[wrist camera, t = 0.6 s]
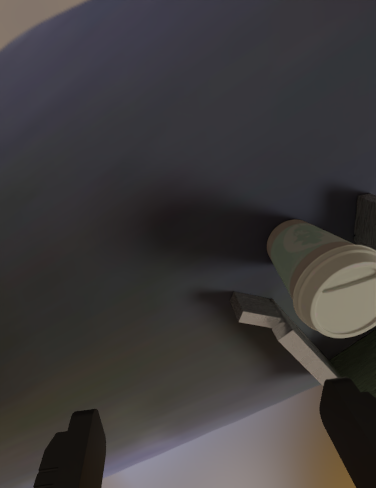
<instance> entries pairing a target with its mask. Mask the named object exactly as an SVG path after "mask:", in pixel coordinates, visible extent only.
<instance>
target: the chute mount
mask: <svg viewBox="0 0 376 488" xmlns="http://www.w3.org/2000/svg"><path fill="white" fill-rule="evenodd" d="M354 235H356V236H355V237H354V238H353V239H354V241H355V242H356V244H357V245H363V246H367V247H370V248H372V249H374V250H375V251H376V195H373V194H371V193H369V194H364V195H359V196H358V197H357V207H356V218H355V229H354ZM230 303H231V306H232V308H233V310H234V313H235V315H236V317H237V320H238V322H241V323H246V324H252V325H258V326H263V327H269V328H271V329H272V331H273V333H274V334H275V336H276V338H277V340H278V341H279V342H280V343H281V344H282V345H283V346H284V347H285V348H286V349H287V350H288V351H289V352H290V353H291V354H292V355H293V356H294V357H295V358H296V359H297V360H298V361H299V362H300V363H301V364H302V365H303V366H304V367H305V368H306V369H307V370H308V371H309V372H310V373H311V374H312V375H313V376H314V377H315V378H316V379H317V380H318V381H319V382H320V383H321V384H322V385H323V386H324V382H325V380H326V379H333V378H341V377H349V378H350V379H351V380H352V381H353V382H354V384H355V385H356V387H357V388H358V389H359V391H360V392H367V391H368V392H369V393H370V394H371V395H373V396H374V397H375V398H376V330H374V331H373V332H371V333H370V334H368V335H367V336H365V337H364V338H362V339H361V340H359V341H358V342H356V343H355V344H353V345H352V346H350V347H349V348H347V349H346V350H344V351H343V352H341V353H340V354H338V355H337V356H335V357H334V358H332V359H331V360H328V359H327V358H326V357H325V356H324V355H323V353H322V352H321V351H320V350H319V349H318V348H317V347H316V346H315V345H314V344H313V343H312V341H311V340H310V339H309V338H308V337H307V336H306V335H305V334H304V333H303V332H302V331H301V329H300V328H299V327H298V326H297V325H296V324H295V323H294V322H293V321H292V320H291V319H290V317H289V316H288V315H287V314H286V313H285V312H284V311H283V310H282V309H281V308H280V307H279V305H278V304H277V303H276V302H275V301H274V300H273V299H271V300H269V299H268V298H263V297H259V296H254V295H249V294H244V293H239V292H233V295H232V297H231V299H230Z"/></svg>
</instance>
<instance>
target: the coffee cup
mask: <svg viewBox="0 0 376 488" xmlns="http://www.w3.org/2000/svg"><path fill="white" fill-rule="evenodd" d="M267 252H268V255H269V257H270V259H271V261H272V262H273V264H274V266H275V268H276V270H277V272H278V274H279V275H280V277H281V279H282V281H283V283H284V285H285V287H286V288H287V290H288V292H289V294H290V296H291V298H292V299H293V305H294V309H295V312H296V314H297V315H298V317H299V318H300V319H301V320H302V321H303V322H304V323H305V324H306V325H308V326H309V327H310V328H312V329H314V330H316V331H318V332H320V333H322V334H323V335H325V336H328V337H332V338H349V337H353V336H356V335H359V334H362V333H364V332H366V331H368V330H370V329H371V328H373V327H374V326H376V251H375V250H374V249H372V248H370V247H367V246H363V245H355V244H353V243H351V242H349V241H346V240H344V239H342V238H340V237H338V236H336V235H333V234H331V233H329V232H327V231H325V230H322V229H320V228H318V227H316V226H314V225H311V224H309V223H307V222H305V221H302V220H297V219H294V220H288V221H285V222H283V223H281V224H280V225H278V226H277V227H276V228H275V229H274V230H273V231H272V232H271V234H270V236H269V238H268V241H267Z"/></svg>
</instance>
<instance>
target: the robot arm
mask: <svg viewBox="0 0 376 488" xmlns="http://www.w3.org/2000/svg"><path fill="white" fill-rule="evenodd" d="M320 415H321V419H322V422H323V425H324V427H325V429H326V430H327V433H328V435H329V436H330V438H331V440H332V442H333V444H334V446H335V448H336V450H337V452H338V454H339V455H340V458H341V459H342V461H343V463H344V465H345V467H346V469H347V471H348V473H349V475H350V477H351V478H352V481H353V482H354V484H355V486H356V488H376V398H375V397H374V396H373V395H371V394H370V393H369V392H368V391H367V392H360V391H359V389H358V388H357V387H356V385H355V384H354V382H353V381H352V380H351V379H350V378H349V377H341V378H333V379H326V380H325V382H324V386H323V391H322V397H321V402H320ZM105 456H106V438H105V433H104V430H103V426H102V423H101V419H100V416H99V413H98V410H97V409H91V410H84V411H76V412H74V413H73V414H72V416H71V420H70V423H69V427H68V431H65V432H58V433H56V434H55V436H54V437H53V439H52V440H51V442H50V443H49V445H48V446H47V448H46V449H45V451H44V454H43V458H42V461H41V464H40V467H39V473H38V474H37V477H36V480H35V483H34V486H33V487H34V488H101V485H102V478H103V471H104V464H105Z"/></svg>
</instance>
